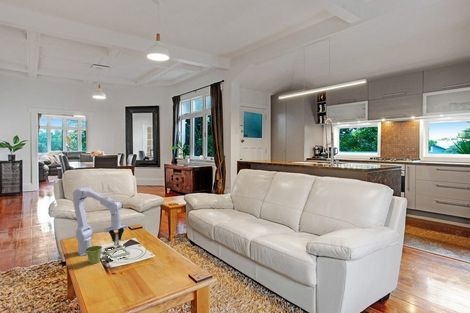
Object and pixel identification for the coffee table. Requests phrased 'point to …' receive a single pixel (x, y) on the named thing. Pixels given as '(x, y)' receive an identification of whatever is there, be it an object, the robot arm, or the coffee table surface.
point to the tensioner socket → (110, 248)
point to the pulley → (121, 246)
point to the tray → (118, 254)
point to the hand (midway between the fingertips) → (116, 240)
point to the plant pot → (94, 254)
